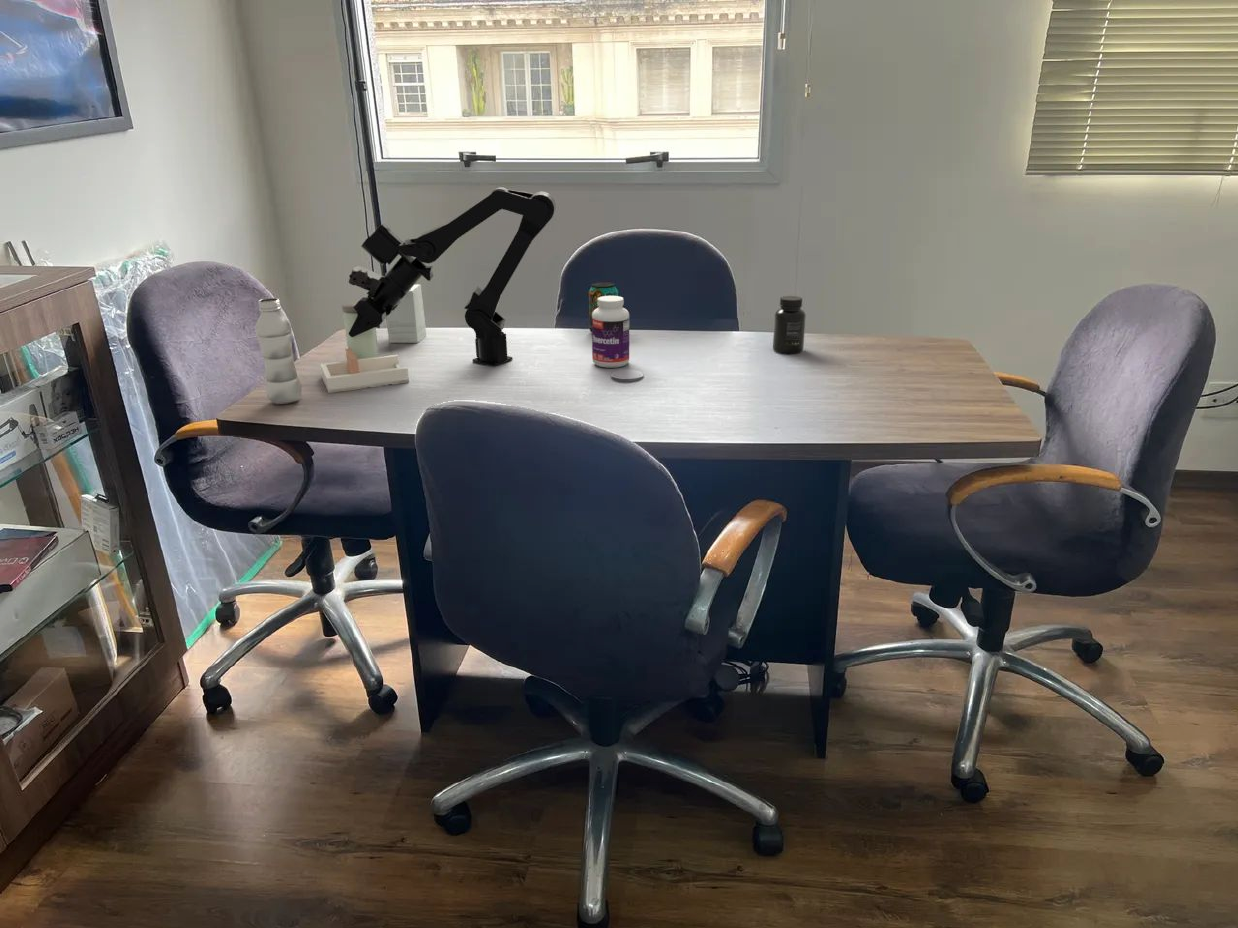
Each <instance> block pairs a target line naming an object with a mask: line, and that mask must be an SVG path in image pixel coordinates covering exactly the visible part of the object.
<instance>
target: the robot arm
mask: <svg viewBox="0 0 1238 928" xmlns="http://www.w3.org/2000/svg"><path fill="white" fill-rule="evenodd" d="M556 206H557V205H556V200H555V198H554V197H553V196H552V194H550V193H548V192H547V191H537V192H535V193H530V192H527V191H521V190H520V191H519V190H513V189H507V188H505V187H503V186H501V187H499V186H498V187H497V188H495V189H494V190H493V191H492V192H491V193H490V194H488V195H487V196H485V197H484V198H482V199H481V200H480V201H478V202H477V203H475V204H474V205H472V206H470V207H469V208H468V209H466V210H465V211H464V212H463V213H461V214H458V216H456V217H454V218H453V219H451V220H450V221H449V222H447V223H444V224H441V225H438V226H437V227H434V228H432V229H430V230H428V231H425V232H423V233H422V234H421V235H419V236H418V237H416V238H410V239H409V238H408V239H405V240H402V239H401V238H399V237H398V236H397V234H395V233H394V232H393V231H392V230H391V228H389V226H387V224H386V223H382V224H380V225H379V226H378V228H377V229H375V231H374V232H373V233H372V234H370V235H368V237H367V238H366V239H365V240H364V242H363V243H362V244H361V246H360V247H361V248H362V249H363V250H364V251H365V252H366V253H368V254H369V255H370V256H371V257H372V258H373V259H375V261H376V262H378V264H380V265H381V266H383V265H388V266H390V265H391V264H392V263H394V261H395V260H396V259H397V258H398V256H400V258H399V259H398V260H397V261H396V262H395V263H394V265H393V266H392V267H391V268H390V269H389V270H388V271H387V272H385V273H384V274H383V275H381V274H379V273H377V272H375V271H372V270H370V269H367V268H365V267H363V266H361V265H356V266H355V267H353V268H352V270H351V272H350V274H349V276H348V277H349V278H348V283H349V284H350V285H351V286H356V287H359V288H361V289H363V290H366V291H368V292H366V294H367V297H362V298H360V299H359V300H358V301H357V302H358V303H357V304H356V305H355V306H354V307H353V308H354V309H355V310H356V311H357V318H356V320H355V322H354V324H353V326H352V328H351V330H350V332H349V335H350V336H351V337H354V336H357V335H359V334H361V333H363V332H366V331H368V330H370V329H372V328H375V327H376V329H377V328H379V327H380V325H381V324H382V323H384V321H385V320H386V316H387V315H389V314H390V313H391V312H392V311H391V310H394V309H395V308H396V307H397V306H398V305H399V304H400V303H401V301H400V300H401V299H402V298H403V297H404V296H405V295H406V294H407V293H408V292H409V290H410V289H411V288H412V287H413V286H414V285H417V284H416V283H417V282H418V281H419V280H420V279H421V278H422V277H423V278H424V279H426V281H428V282H429V281H431V280H432V279H433V278H434V272H433V269H434V267H433V265H426V264H432V263H434V262H436V261H437V260H438V259H439V258H440V257H441V256H442V255H443V254H444V253H445V252H446V251H447V250H448V249H449V248H450V247H451V246H453V244H454V243H456V241H457V240H458V239H459V238H461V237H462V236H463V235H465V234H467V233H468V232H470V231H471V230H472V229H474V228H475V227H477V226H479V225H480V224H481V223H483V222H484V221H486V220H488V219H489V218H490V217H492V216H493V215H495V214H496V213H497V212H499V211H501V210H504V211H507V212H510V213H514V214H517V215H521V216H522V217H521V220H520V222H519V226H518V230H517V232H516V233H515V234H514V236H513V239H512V241H511V243H510V244H509V246H508V247H507V249H506V251H505V253H504V255H503V256H502V258H501V260H500V261H499V263H498V265H497V267H496V269H495V270H494V272H493V274H492V276H491V277H490V279H489V281H488V283H487V284H486V285H485V286H484V287H483V289H482V288H480V287H479V286H476V287H475V289H474V291H473V292H472V295H471V297H470V299H469V300H468V301H467V303H466V304H465V306H464V310H466V311H465V313H464V320H465V322H466V325H468V326H469V328H471V329H472V330H473V332H474V333H475V338H474V339H475V340H474V341H475V353H476V355H475V356H476V357H474V358H472V362H473V363H477V364H481V365H482V364H483V365H487V366H491V367H495V366H498V365H500V364H503V363H507V362H509V361H511V360H513V358H514V357H513V356H508V344H507V343H508V342H507V334H506V333H504V331H503V330H504V327H505V324H506V319H505V318H504V317H503V316H502V315H501V314H499V313H498V312H497V309H498V306H499V304H500V300H501V298H502V295H503V292H504V290H505V289H506V287H507V285H508V284H509V282H510V280H511V278H512V277H513V275H514V273H515V271H516V270H517V268H518V266H519V264H520V263H521V261H522V259H523V257H524V256H525V254H526V252H527V250H528V248H529V247H530V245H531V244H532V241H533V240H534V239H535V238H536V237H538V235H539V234H540V233H541V232H542V230H543V229H544V227H546V226H547V224H548V223H549V222H550V221H551V220H552V218H553V216H554V214H555V212H556Z"/></svg>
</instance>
